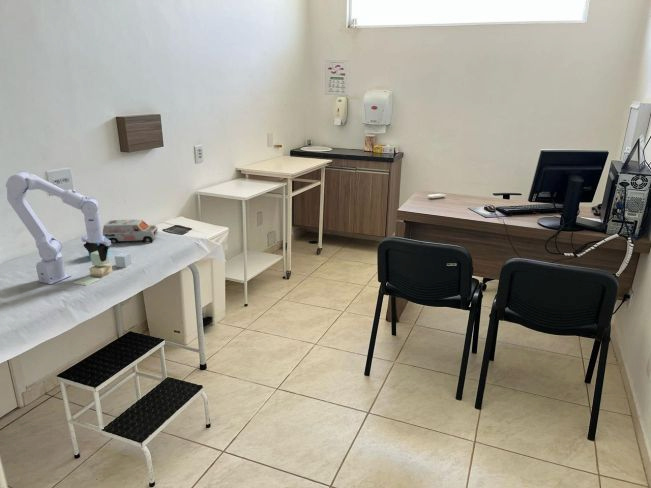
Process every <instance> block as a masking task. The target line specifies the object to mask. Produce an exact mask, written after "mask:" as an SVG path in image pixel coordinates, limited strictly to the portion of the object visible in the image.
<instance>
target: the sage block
mask: <svg viewBox="0 0 651 488" xmlns="http://www.w3.org/2000/svg"><path fill="white" fill-rule="evenodd" d="M90 254H91V258H90V259H91V260H90V261H91V265H93V266H95V265H96V266H102V265H105V264H110V261H109V255H108V254H109V252H108V253H107V258H106V260H105V261H103V262H102V261H101V260H100V256H99V253H98V251H95V252H92V253H90Z"/></svg>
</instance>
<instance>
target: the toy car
mask: <svg viewBox="0 0 651 488" xmlns="http://www.w3.org/2000/svg"><path fill="white" fill-rule="evenodd" d="M102 232H103V236H105V237H106V238H107V239H108V240H111V245H112V244H113V245H114V244H116V245H117V244H119V242H129V241H130V242H131V241H132V242H133V241H134V242H135V241H143V242H144V243H145V242H151V243H152V242H153V240H155V239H156V237H157V236H158V234H159V231H158V226H157V225H155V224H154V225H151V224H150V225H149V224H147V222H145V221H144V220H143V219H115V220H114V219H112V220H109V221H107V222H106V223H104V225H103V228H102Z"/></svg>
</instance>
